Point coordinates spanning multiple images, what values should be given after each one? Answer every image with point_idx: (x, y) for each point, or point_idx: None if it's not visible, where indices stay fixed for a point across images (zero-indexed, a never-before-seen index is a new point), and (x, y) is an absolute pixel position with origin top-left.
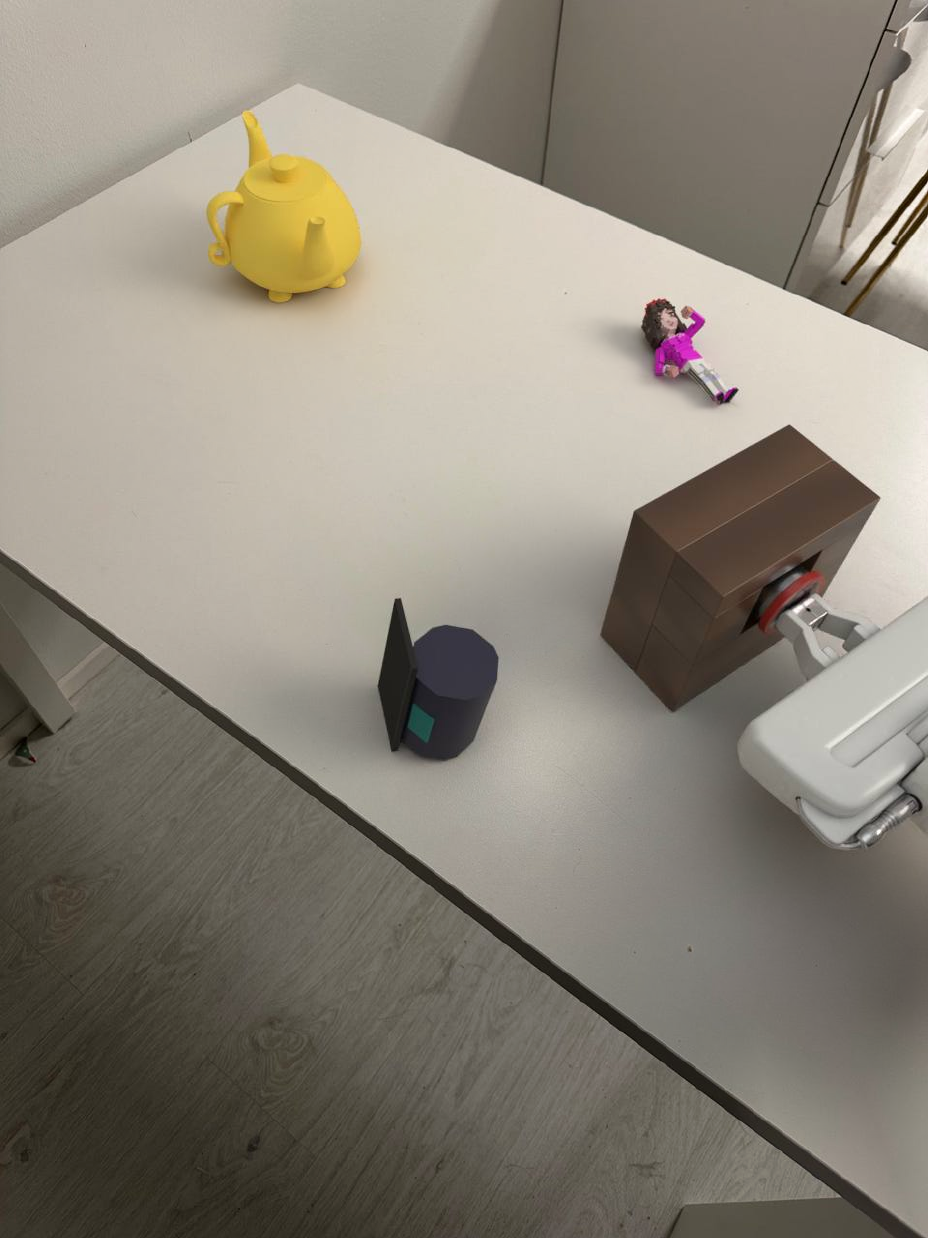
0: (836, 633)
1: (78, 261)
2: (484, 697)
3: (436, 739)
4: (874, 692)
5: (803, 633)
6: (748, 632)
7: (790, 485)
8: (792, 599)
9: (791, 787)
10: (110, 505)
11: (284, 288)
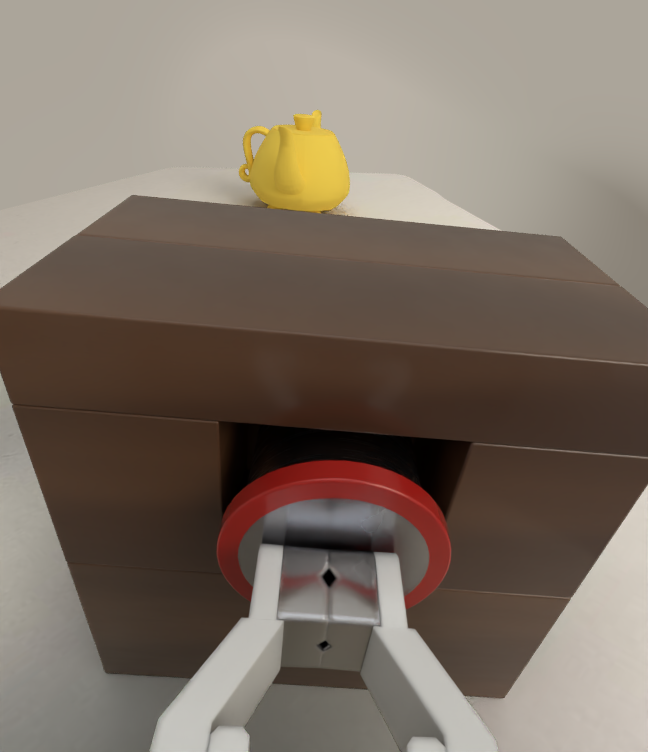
0: (394, 726)
1: (193, 176)
2: None
3: None
4: None
5: (233, 627)
6: None
7: (465, 272)
8: (296, 516)
9: None
10: (14, 235)
11: (266, 197)
